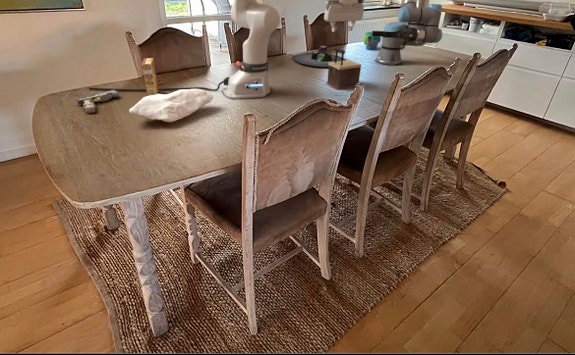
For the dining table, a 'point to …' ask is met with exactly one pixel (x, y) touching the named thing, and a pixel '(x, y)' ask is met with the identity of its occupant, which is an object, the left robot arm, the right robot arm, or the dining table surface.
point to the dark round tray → (316, 58)
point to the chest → (343, 77)
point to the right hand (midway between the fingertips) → (377, 34)
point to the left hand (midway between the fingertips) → (342, 30)
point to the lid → (343, 62)
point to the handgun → (95, 100)
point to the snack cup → (371, 41)
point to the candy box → (150, 76)
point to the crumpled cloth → (171, 104)
